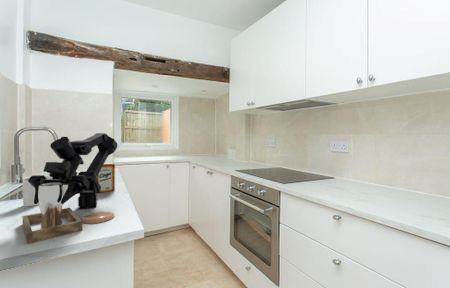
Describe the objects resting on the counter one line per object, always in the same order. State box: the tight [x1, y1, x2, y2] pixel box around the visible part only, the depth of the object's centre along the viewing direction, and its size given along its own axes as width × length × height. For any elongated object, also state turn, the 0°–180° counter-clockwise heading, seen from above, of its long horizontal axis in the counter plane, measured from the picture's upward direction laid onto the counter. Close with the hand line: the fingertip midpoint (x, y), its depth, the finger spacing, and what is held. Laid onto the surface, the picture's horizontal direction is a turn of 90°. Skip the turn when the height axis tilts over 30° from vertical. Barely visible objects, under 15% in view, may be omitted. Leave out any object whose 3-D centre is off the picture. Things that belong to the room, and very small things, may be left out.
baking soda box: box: [97, 162, 116, 195], centre depth 128 cm, size 10×6×16 cm
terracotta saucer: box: [81, 211, 115, 225], centre depth 87 cm, size 11×11×1 cm
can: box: [22, 177, 39, 208], centre depth 102 cm, size 6×6×12 cm
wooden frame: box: [22, 207, 83, 245], centre depth 78 cm, size 14×20×3 cm
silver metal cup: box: [38, 182, 65, 230], centre depth 77 cm, size 7×7×15 cm
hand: (48, 203), depth 76 cm, fingers open, 8 cm apart
